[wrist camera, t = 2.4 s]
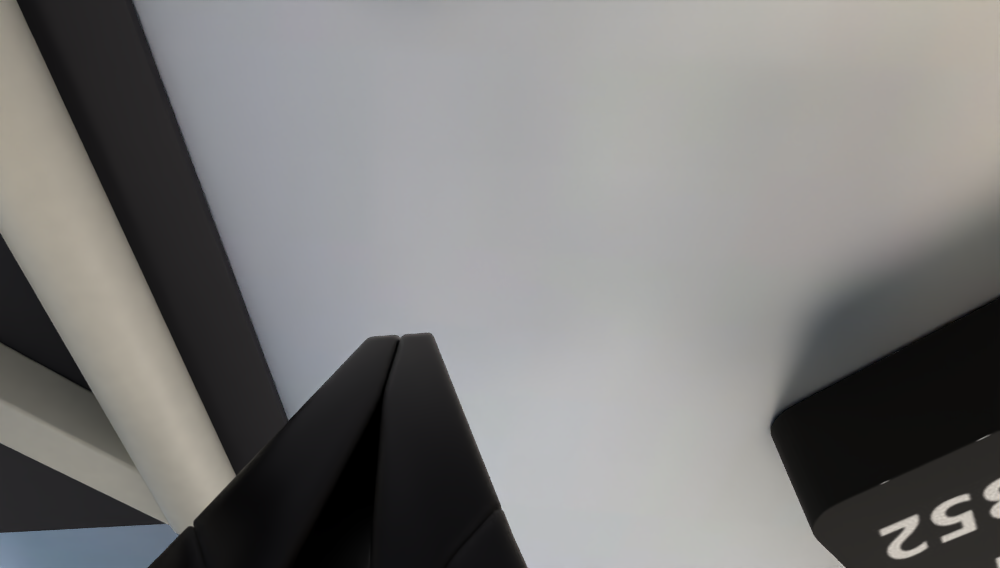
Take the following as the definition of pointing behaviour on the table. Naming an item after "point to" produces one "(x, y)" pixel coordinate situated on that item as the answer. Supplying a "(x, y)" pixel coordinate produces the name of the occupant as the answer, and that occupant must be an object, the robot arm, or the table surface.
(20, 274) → the mat
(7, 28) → the hanger
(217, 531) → the robot arm
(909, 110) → the table surface
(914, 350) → the decorative sign
